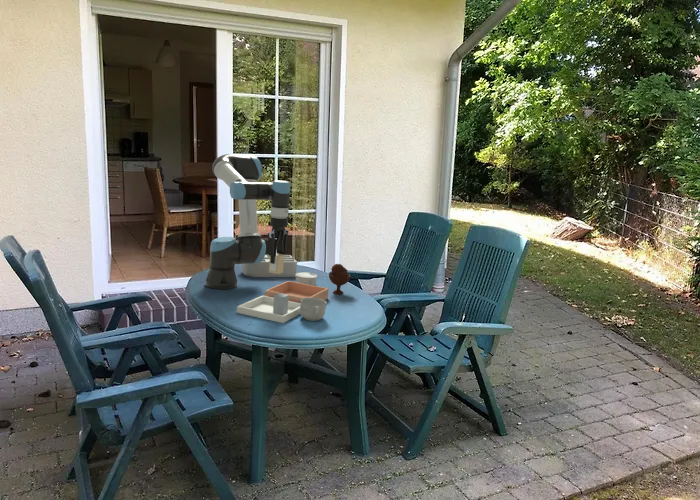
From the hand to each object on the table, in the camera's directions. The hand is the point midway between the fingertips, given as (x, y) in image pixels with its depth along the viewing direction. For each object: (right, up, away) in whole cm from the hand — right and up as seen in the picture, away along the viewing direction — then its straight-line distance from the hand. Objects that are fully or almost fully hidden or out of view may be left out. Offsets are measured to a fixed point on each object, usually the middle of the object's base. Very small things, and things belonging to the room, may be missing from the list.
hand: (276, 269), depth 237 cm
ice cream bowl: (+27, -13, +30) cm, 42 cm away
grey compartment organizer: (-12, -5, +57) cm, 59 cm away
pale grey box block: (+3, -18, -9) cm, 21 cm away
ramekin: (+10, -10, +41) cm, 43 cm away
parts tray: (-1, -18, -7) cm, 19 cm away
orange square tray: (+8, -15, +13) cm, 21 cm away
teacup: (+17, -21, -13) cm, 30 cm away
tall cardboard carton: (0, -1, 0) cm, 1 cm away
